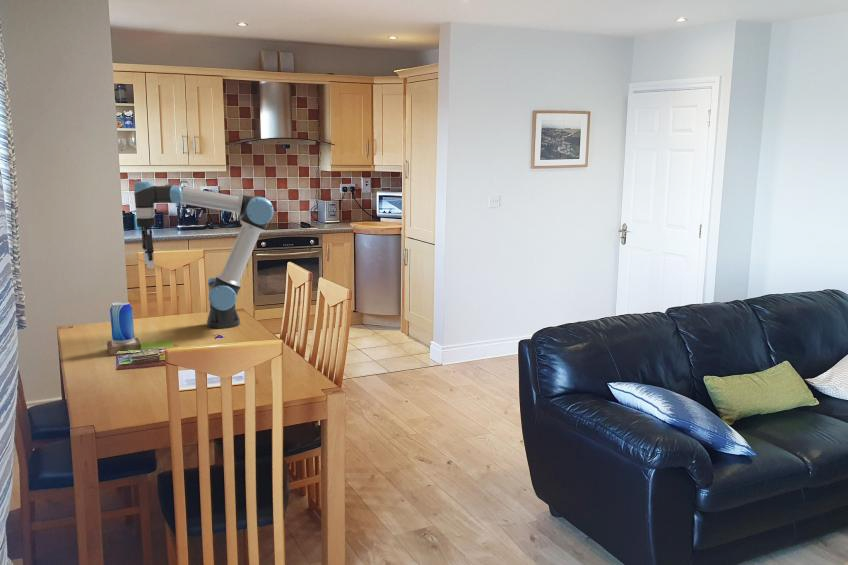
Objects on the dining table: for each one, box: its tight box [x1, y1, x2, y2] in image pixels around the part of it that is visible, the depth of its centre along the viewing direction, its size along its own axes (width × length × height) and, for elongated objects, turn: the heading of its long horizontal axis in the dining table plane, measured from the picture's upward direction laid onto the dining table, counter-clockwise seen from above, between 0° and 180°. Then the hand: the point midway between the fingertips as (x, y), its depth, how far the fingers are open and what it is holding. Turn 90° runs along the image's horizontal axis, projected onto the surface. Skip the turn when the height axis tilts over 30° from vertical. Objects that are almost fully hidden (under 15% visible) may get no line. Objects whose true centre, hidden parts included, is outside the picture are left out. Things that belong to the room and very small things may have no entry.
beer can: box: [109, 301, 135, 343], centre depth 296 cm, size 8×8×16 cm
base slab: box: [106, 337, 142, 357], centre depth 298 cm, size 12×12×4 cm
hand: (149, 266), depth 316 cm, fingers open, 13 cm apart
